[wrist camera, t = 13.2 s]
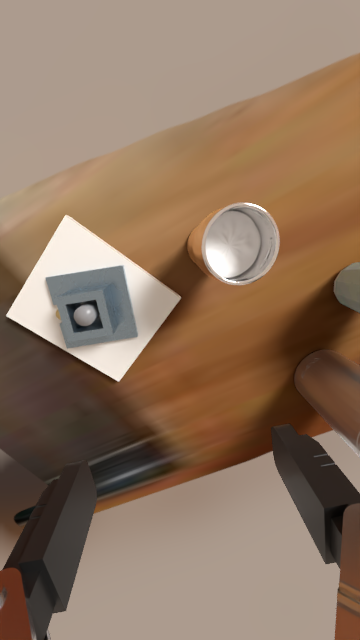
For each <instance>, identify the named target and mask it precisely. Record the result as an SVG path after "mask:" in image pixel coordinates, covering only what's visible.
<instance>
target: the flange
mask: <svg viewBox="0 0 360 640" xmlns="http://www.w3.org/2000/svg"><path fill="white" fill-rule="evenodd" d="M45 279H46V282H47V285H48V288H49V292H50V295H51V298H52V301H53V305H57V308H58V311H59V314H60V317H61V321H62V322H61V323H60V328H61V331H62V334H63V337H64V341H65V344H66V347H67V349H68V348H74V347H80V346H86V345H92V344H98V343H104V342H110V341H116V340H122V339H128V338H134V337H138V331H137V326H136V322H135V317H134V312H133V307H132V303H131V298H130V293H129V288H128V284H127V279H126V274H125V270H124V265H119V266H113V267H107V268H100V269H94V270H88V271H81V272H75V273H69V274H62V275H56V276H50V277H46V278H45ZM91 300H96V301H97V305H98V309H99V313H100V317H101V319H97V320H94V322H93V323H92V324H90V325H88V326H81V325H79V324H78V323H77V322H76V321H75V319H74V312H75V310H76V309H77V308H79V307H80V306H81V302H84V301H91Z"/></svg>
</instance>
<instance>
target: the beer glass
mask: <svg viewBox="0 0 360 640" xmlns="http://www.w3.org/2000/svg"><path fill="white" fill-rule="evenodd" d="M279 245H280V237H279V231H278V228H277V225H276V223H275V221H274V219H273V218H272V216H271V215H270V214H269V213H268V212H267V211H266V210H265V209H263V208H262V207H260V206H258V205H255V204H252V203H235V204H231V205H229V206H225V207H222V208H220V209H217V210H215V211H213V212H212V213H210V214H209V215H208V216H206V217H205V218H204V219H203V220H202V221H201V222H200V224H199V225H198V226H197V227H196V228H195V229H194V230H193V231H192V232H191V234H190V236H189V238H188V242H187V250H188V254H189V256H190V258H191V260H192V261H193V262H194V263H195V264H197V265H198V267H199V268H200V269H201V270H202V271H203V272H204V273H205V274H206V275H208V276H209V277H211V278H213V279H215V280H217V281H220V282H224V283H227V284H230V285H246V284H249V283H252V282H254V281H256V280H258V279H260V278H261V277H263V276H264V275H265V274H266V273H267V272H268V271H269V270H270V268H271V267H272V265H273V264H274V262H275V260H276V258H277V255H278V251H279Z"/></svg>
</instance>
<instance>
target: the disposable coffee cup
mask: <svg viewBox="0 0 360 640" xmlns="http://www.w3.org/2000/svg"><path fill="white" fill-rule="evenodd" d="M334 293H335V295H336V297H337V299H338V301H339V302H340V303H341V304H343V305H345V306H347V307H349V308H351V309H353V310H355V311H357V312H359V313H360V262H357V263H353V264H351V265H349V266H347V267H346V268H344V269H343V270H341V271H340V273H339V274H338V276H337V278H336V279H335V281H334Z"/></svg>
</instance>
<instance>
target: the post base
mask: <svg viewBox="0 0 360 640" xmlns="http://www.w3.org/2000/svg"><path fill="white" fill-rule="evenodd" d="M119 265H124V270H125V274H126V279H127V284H128V288H129V293H130V298H131V303H132V307H133V312H134V317H135V322H136V326H137V331H138V337H134V338H128V339H122V340H116V341H110V342H104V343H98V344H92V345H86V346H80V347H74V348H68V349H67V347H66V344H65V341H64V337H63V334H62V331H61V328H60V323H61V322H62V321H61V317H60V314H59V311H58V308H57V305H53V301H52V298H51V295H50V292H49V288H48V285H47V282H46V279H45V278H46V277H50V276H56V275H62V274H69V273H75V272H81V271H88V270H94V269H100V268H107V267H113V266H119ZM180 299H181V296H180V295H178V294H177V293H176V292H174V291H173V290H171V289H170V288H169V287H167V286H166V285H164V284H163V283H162V282H160V281H159V280H158V279H156V278H155V277H153V276H152V275H151V274H149V273H148V272H146V271H145V270H144V269H142V268H141V267H139V266H138V265H137V264H135V263H134V262H132V261H131V260H130V259H128V258H127V257H126V256H124V255H123V254H121V253H120V252H119V251H117V250H116V249H114V248H113V247H112V246H110V245H109V244H107V243H106V242H105V241H103V240H102V239H100V238H99V237H98V236H96V235H95V234H94V233H92V232H91V231H89V230H88V229H87V228H85V227H84V226H82V225H81V224H80V223H78V222H77V221H75V220H74V219H73V218H71V217H70V216H67V215H65V217H64V218H63V220H62V222H61V223H60V225H59V227H58V228H57V230H56V232H55V234H54V235H53V237H52V239H51V240H50V242H49V244H48V245H47V247H46V249H45V251H44V252H43V254H42V256H41V257H40V259H39V261H38V262H37V264H36V266H35V268H34V269H33V271H32V273H31V274H30V276H29V278H28V279H27V281H26V283H25V285H24V286H23V288H22V290H21V291H20V293H19V295H18V296H17V298H16V300H15V302H14V303H13V305H12V307H11V308H10V310H9V312H8V313H7V315H6V316H7V317H9V318H10V319H12V320H14V321H16V322H17V323H19V324H21V325H22V326H24V327H26V328H28V329H29V330H31V331H33V332H34V333H36V334H38V335H40V336H41V337H43V338H45V339H46V340H48V341H50V342H51V343H53V344H55V345H57V346H58V347H60V348H62V349H63V350H65V351H67V352H69V353H70V354H72V355H74V356H75V357H77V358H79V359H81V360H82V361H84V362H86V363H87V364H89V365H91V366H93V367H94V368H96V369H98V370H99V371H101V372H103V373H104V374H106V375H108V376H110V377H111V378H113V379H115V380H116V381H118V382H119V381H120V380H121V378H122V377H123V376H124V374H125V373H126V372H127V370H128V369H129V367H130V366H131V365H132V363H133V362H134V361H135V359H136V358H137V357H138V355H139V354H140V353H141V351H142V350H143V349H144V347H145V346H146V345H147V343H148V342H149V341H150V339H151V338H152V337H153V335H154V334H155V333H156V331H157V330H158V328H159V327H160V326H161V324H162V323H163V322H164V320H165V319H166V318H167V316H168V315H169V314H170V312H171V311H172V310H173V308H174V307H175V306H176V304H177V303H178V302H179V300H180ZM74 319H75V321H76V322H77V323H78V324H79V325H81V326H88V325H90V324H92V323H93V322H94V320H97V319H101V317H100V313H99V309H98V305H97V301H96V300H91V301H84V302H81V306H80V307H79V308H77V309H76V310H75V312H74Z"/></svg>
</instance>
